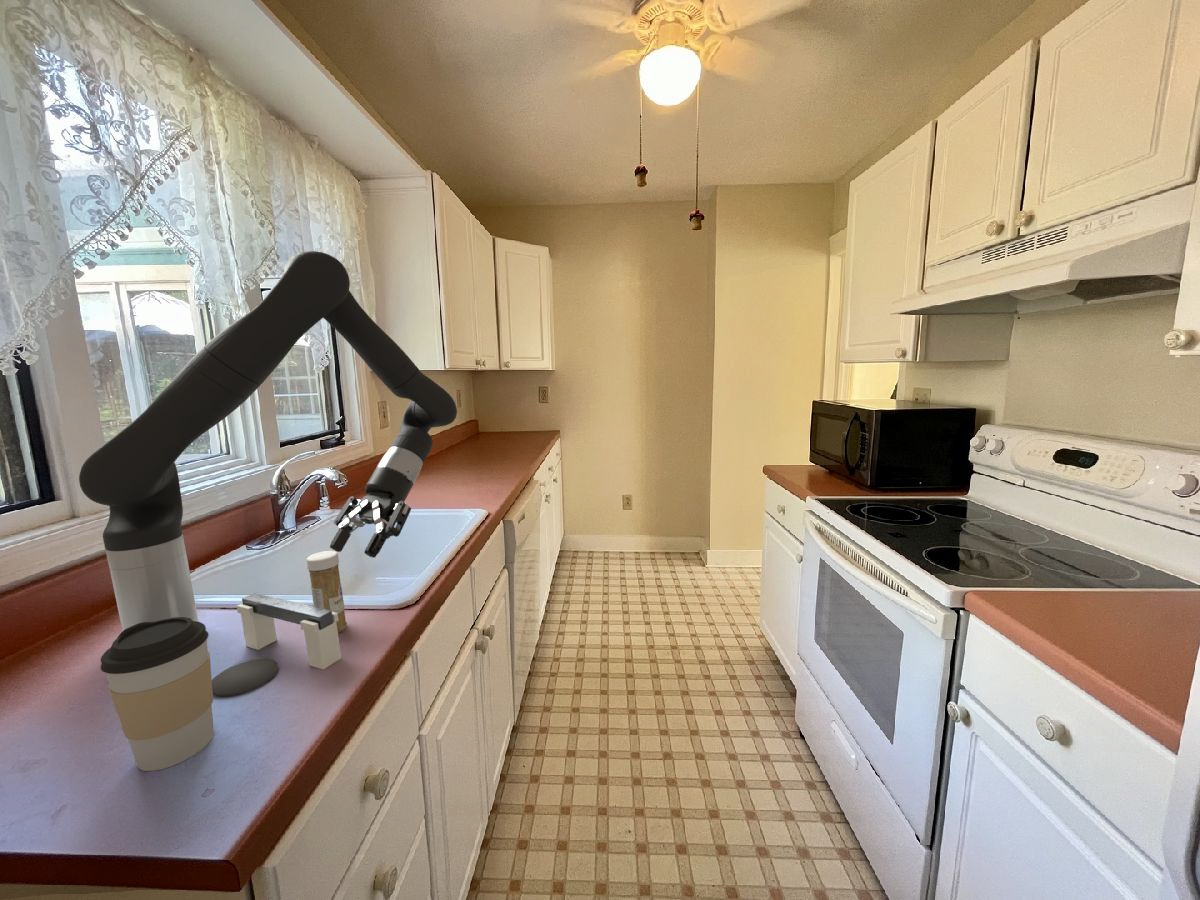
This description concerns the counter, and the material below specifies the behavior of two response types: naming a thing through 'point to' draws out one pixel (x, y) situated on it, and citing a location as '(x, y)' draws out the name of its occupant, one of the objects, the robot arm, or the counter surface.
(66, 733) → the counter surface
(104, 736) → the counter surface
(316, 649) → the hurdle posts
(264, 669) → the rubber mat
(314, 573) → the sprinkles bottle
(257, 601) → the crossbar
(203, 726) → the coffee cup
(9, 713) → the counter surface
